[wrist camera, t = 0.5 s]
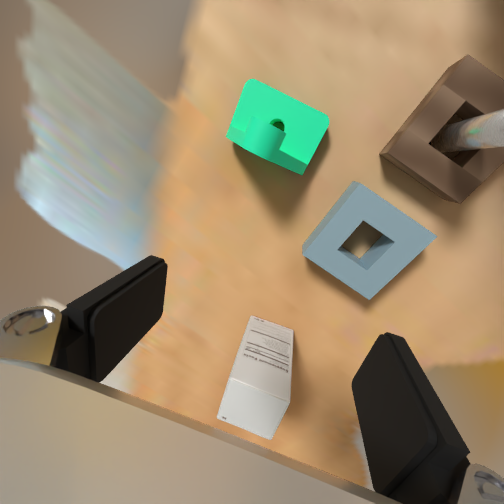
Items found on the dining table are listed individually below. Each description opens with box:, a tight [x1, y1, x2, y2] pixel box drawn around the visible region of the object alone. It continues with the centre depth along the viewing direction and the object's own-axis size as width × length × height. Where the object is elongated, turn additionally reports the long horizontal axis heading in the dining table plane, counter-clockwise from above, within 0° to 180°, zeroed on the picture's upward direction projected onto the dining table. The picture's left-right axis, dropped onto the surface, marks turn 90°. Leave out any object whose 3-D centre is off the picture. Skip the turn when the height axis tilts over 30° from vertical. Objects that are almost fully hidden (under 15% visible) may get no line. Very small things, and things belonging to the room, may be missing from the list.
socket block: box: [303, 181, 437, 300], centre depth 34 cm, size 12×12×4 cm
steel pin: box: [432, 109, 504, 153], centre depth 24 cm, size 3×3×11 cm
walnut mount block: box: [380, 55, 504, 203], centre depth 28 cm, size 11×11×4 cm
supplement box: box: [217, 315, 294, 440], centre depth 39 cm, size 9×9×15 cm
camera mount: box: [226, 79, 329, 175], centre depth 28 cm, size 12×8×10 cm, turn 65°
